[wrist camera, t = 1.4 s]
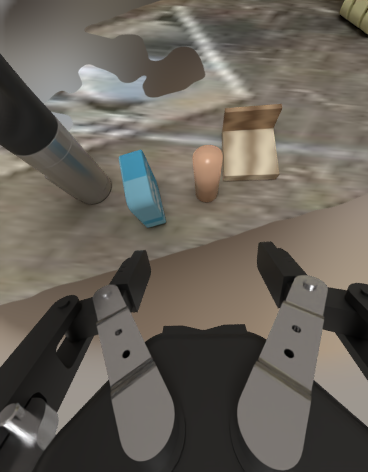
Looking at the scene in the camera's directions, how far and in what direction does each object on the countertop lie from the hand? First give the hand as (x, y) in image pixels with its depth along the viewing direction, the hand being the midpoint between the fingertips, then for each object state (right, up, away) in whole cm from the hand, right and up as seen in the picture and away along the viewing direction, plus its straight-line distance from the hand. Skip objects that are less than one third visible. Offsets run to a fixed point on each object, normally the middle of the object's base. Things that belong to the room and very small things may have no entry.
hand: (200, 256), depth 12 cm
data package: (-9, +9, +30) cm, 32 cm away
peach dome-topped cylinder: (+4, +12, +29) cm, 32 cm away
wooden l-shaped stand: (+14, +22, +30) cm, 40 cm away
